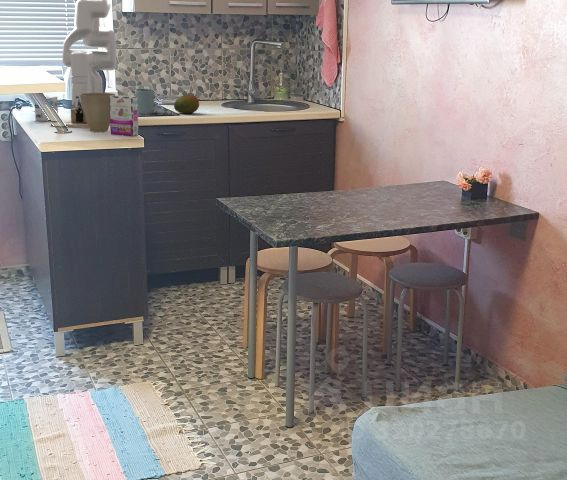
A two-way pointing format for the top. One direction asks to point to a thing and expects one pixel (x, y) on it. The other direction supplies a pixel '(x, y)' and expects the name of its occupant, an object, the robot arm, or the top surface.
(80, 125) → the board
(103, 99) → the plant pot
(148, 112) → the blue-green cup
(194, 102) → the fruit
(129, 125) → the candy bar box
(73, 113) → the sanding block
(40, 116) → the light bulb box
